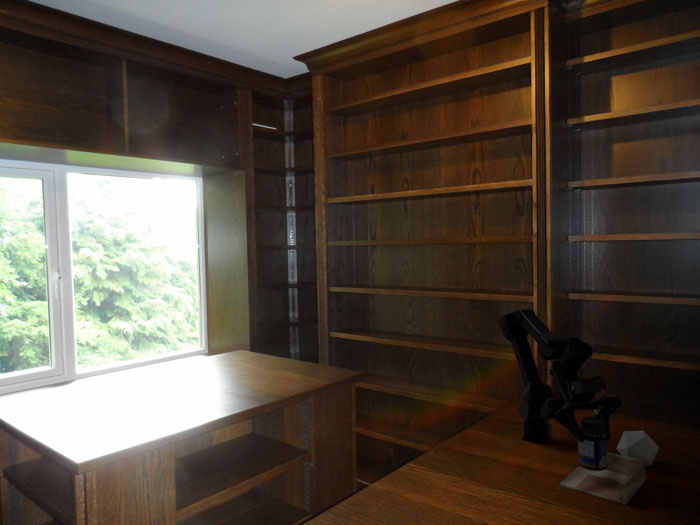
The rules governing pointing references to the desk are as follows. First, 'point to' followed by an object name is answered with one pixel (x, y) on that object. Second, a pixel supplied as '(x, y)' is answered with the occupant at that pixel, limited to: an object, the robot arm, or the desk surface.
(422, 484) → the desk surface
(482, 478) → the desk surface
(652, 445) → the grey polyhedron
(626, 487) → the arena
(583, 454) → the pill bottle
